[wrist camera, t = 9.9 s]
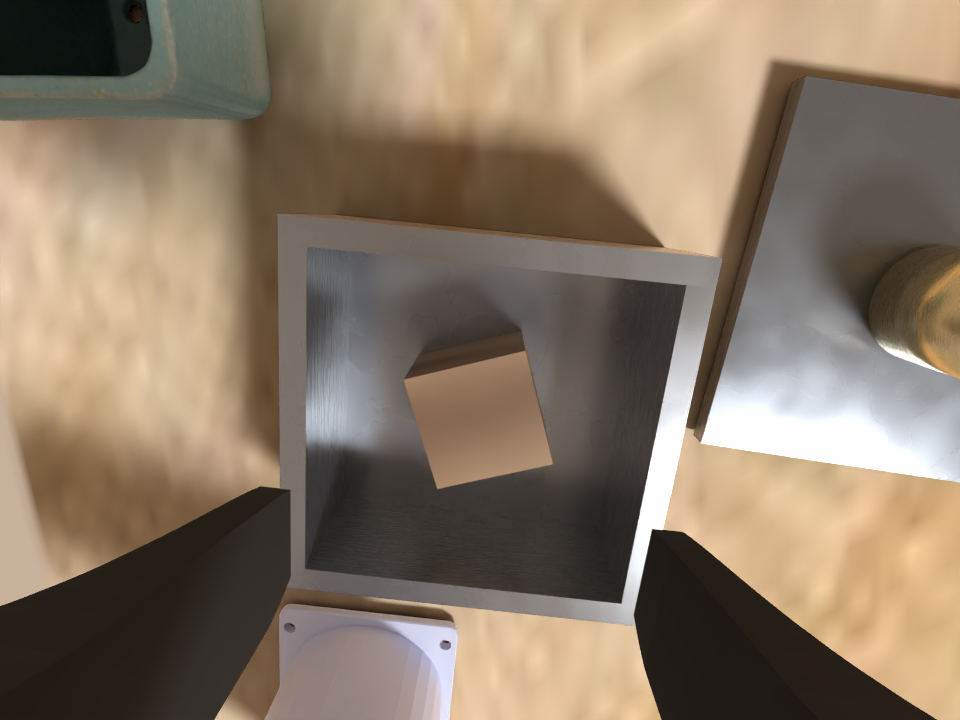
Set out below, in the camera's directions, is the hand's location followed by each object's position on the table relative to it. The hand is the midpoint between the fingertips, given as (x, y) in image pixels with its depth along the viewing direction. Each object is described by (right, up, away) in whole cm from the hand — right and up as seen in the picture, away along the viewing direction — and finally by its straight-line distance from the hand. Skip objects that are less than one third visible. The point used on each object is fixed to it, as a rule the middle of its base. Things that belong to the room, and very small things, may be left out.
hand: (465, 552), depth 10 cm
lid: (+16, +6, +9) cm, 19 cm away
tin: (0, +3, +10) cm, 10 cm away
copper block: (0, +3, +9) cm, 10 cm away
